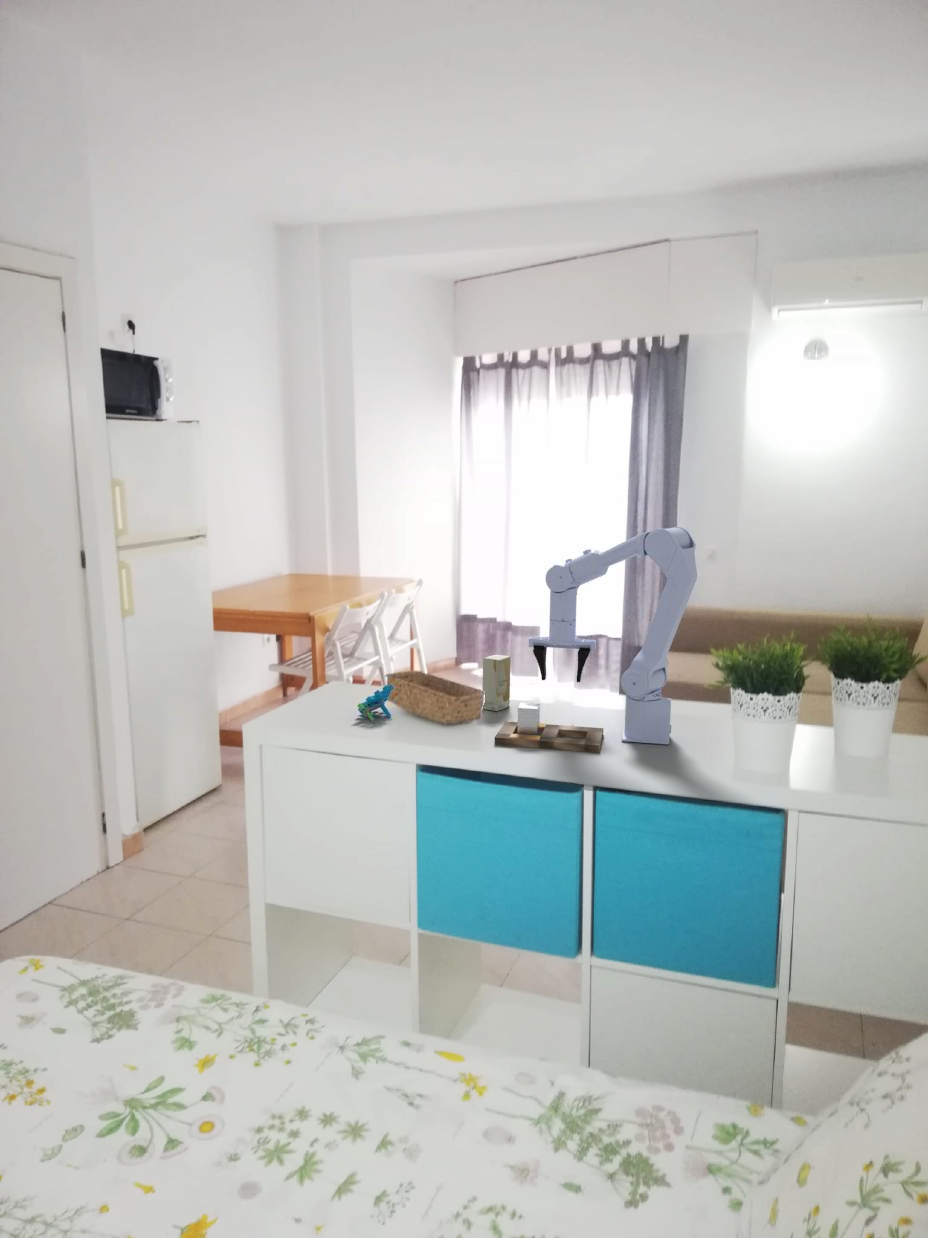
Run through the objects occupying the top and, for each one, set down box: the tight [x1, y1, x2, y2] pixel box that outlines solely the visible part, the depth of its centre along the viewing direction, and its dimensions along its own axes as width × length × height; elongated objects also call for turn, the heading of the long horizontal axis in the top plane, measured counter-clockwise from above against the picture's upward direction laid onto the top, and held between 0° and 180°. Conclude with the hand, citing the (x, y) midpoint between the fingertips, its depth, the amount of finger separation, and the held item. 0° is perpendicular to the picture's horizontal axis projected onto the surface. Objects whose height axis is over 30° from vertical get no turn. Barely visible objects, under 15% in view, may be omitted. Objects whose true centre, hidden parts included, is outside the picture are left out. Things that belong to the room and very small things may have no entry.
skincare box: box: [481, 654, 512, 712], centre depth 200 cm, size 6×4×12 cm
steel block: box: [517, 702, 541, 736], centre depth 177 cm, size 4×4×7 cm
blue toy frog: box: [356, 683, 393, 722], centre depth 192 cm, size 11×6×10 cm
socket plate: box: [494, 721, 604, 753], centre depth 176 cm, size 21×12×2 cm, turn 77°
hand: (561, 680), depth 188 cm, fingers open, 7 cm apart
